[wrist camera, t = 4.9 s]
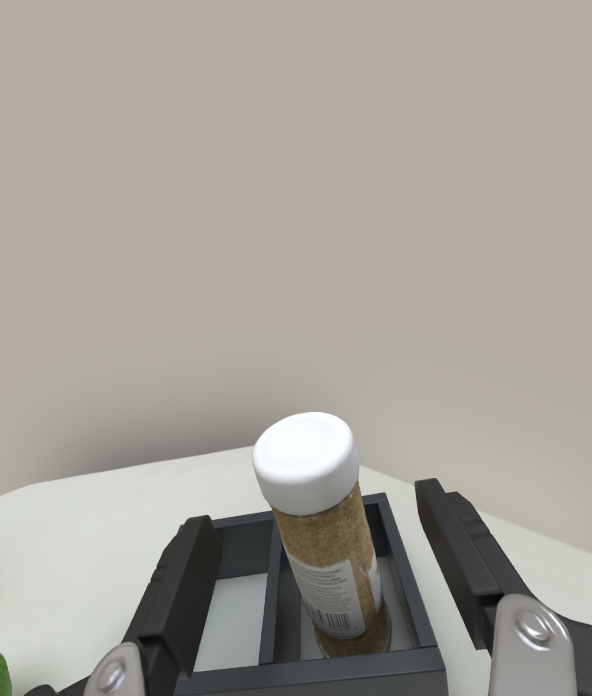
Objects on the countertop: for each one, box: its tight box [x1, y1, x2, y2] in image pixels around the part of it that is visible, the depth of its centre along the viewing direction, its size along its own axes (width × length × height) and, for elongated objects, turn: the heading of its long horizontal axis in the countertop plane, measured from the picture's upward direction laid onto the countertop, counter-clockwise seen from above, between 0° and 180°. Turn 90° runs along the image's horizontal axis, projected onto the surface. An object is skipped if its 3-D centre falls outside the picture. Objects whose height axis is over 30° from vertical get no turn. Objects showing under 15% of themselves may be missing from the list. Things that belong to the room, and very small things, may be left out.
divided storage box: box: [173, 493, 449, 696], centre depth 16 cm, size 14×8×5 cm, turn 89°
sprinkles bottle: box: [252, 412, 391, 658], centre depth 14 cm, size 5×5×14 cm
